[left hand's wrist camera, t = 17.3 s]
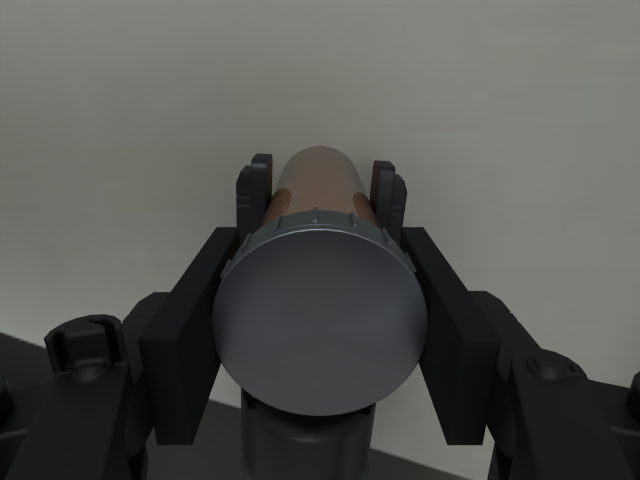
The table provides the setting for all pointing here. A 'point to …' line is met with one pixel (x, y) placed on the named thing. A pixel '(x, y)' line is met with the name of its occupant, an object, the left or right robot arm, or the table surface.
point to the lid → (319, 314)
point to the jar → (319, 186)
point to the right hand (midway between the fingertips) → (324, 161)
